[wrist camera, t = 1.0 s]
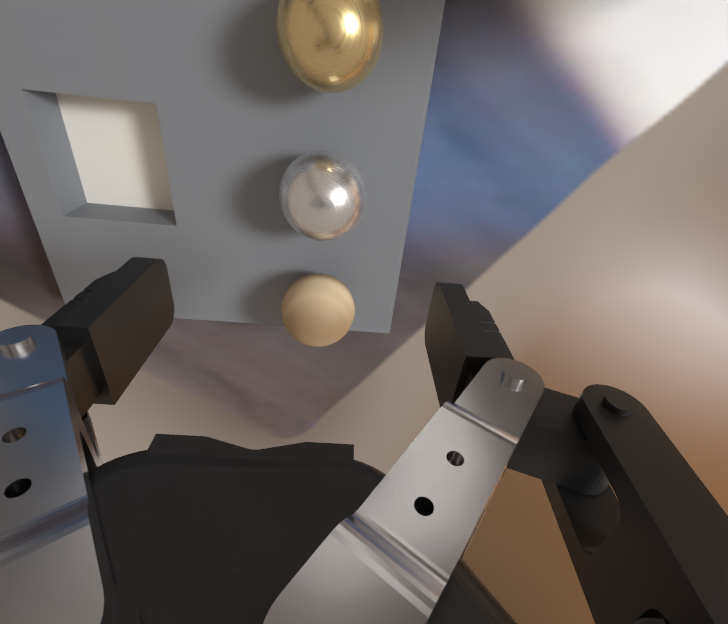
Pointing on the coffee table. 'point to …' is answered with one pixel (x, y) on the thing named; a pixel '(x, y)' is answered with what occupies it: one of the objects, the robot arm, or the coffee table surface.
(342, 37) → the brass ball
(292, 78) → the board
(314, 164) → the steel ball
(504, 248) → the coffee table surface
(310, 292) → the oak ball
